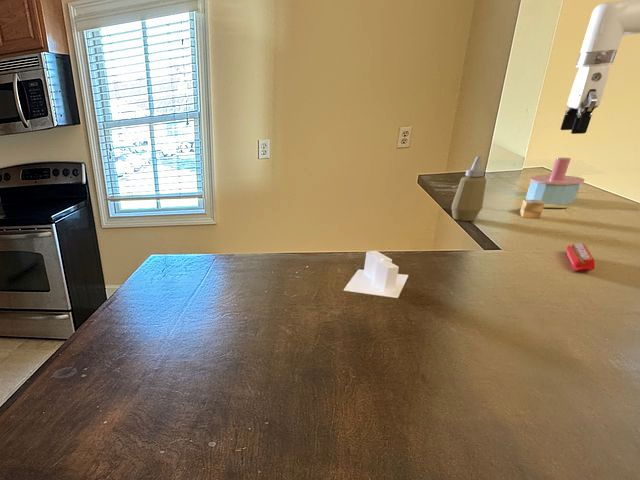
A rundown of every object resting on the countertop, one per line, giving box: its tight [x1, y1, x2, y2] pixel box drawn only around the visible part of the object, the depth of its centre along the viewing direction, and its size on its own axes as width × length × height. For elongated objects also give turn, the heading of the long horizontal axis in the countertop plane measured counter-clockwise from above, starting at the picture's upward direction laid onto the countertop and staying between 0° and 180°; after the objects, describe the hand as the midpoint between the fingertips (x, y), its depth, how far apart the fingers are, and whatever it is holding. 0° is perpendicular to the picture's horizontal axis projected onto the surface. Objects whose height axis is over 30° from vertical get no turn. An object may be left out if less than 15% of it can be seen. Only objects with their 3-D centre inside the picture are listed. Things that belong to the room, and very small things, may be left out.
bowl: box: [525, 181, 582, 210], centre depth 153 cm, size 13×13×8 cm
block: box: [519, 199, 545, 219], centre depth 144 cm, size 4×4×4 cm
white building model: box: [342, 250, 409, 299], centre depth 106 cm, size 15×11×6 cm
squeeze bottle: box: [451, 155, 487, 222], centre depth 143 cm, size 8×8×18 cm
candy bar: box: [566, 243, 596, 273], centre depth 109 cm, size 16×4×3 cm, turn 150°
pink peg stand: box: [529, 157, 585, 185], centre depth 150 cm, size 14×14×7 cm
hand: (572, 131), depth 133 cm, fingers open, 9 cm apart
